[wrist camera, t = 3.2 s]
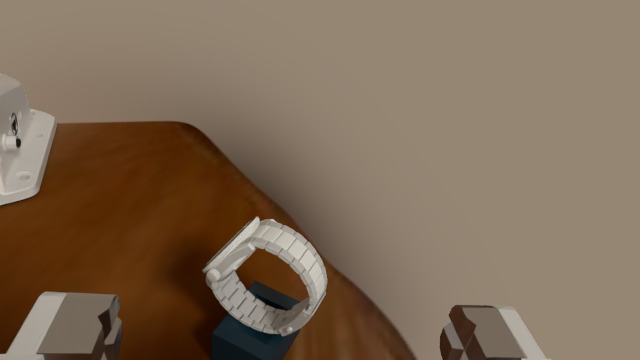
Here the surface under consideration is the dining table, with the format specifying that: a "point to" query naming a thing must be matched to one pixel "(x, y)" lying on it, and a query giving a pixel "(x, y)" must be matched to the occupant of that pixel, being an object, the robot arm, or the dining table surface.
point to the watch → (262, 294)
